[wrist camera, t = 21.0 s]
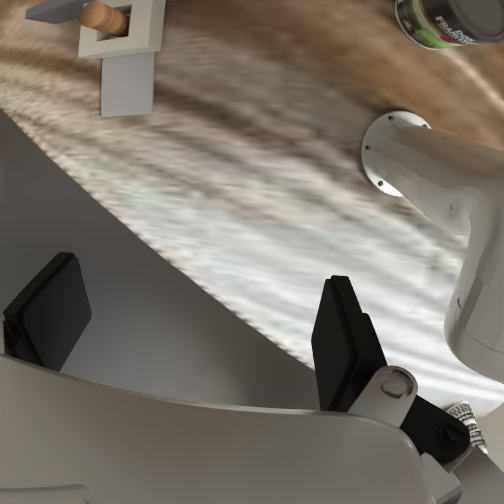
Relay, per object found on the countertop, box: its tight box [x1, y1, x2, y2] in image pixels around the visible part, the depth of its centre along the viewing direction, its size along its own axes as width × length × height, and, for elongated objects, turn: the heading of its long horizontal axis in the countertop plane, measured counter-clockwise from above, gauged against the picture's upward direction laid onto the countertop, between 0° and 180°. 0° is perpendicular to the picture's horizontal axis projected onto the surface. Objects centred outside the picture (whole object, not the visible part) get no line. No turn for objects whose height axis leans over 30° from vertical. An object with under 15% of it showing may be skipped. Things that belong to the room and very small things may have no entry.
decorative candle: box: [446, 401, 488, 456], centre depth 61 cm, size 9×9×25 cm
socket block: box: [78, 0, 166, 59], centre depth 29 cm, size 10×8×5 cm
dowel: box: [79, 1, 130, 38], centre depth 26 cm, size 3×3×10 cm
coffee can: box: [395, 0, 504, 50], centre depth 23 cm, size 10×10×14 cm
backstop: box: [25, 0, 177, 117], centre depth 30 cm, size 28×18×8 cm, turn 86°
